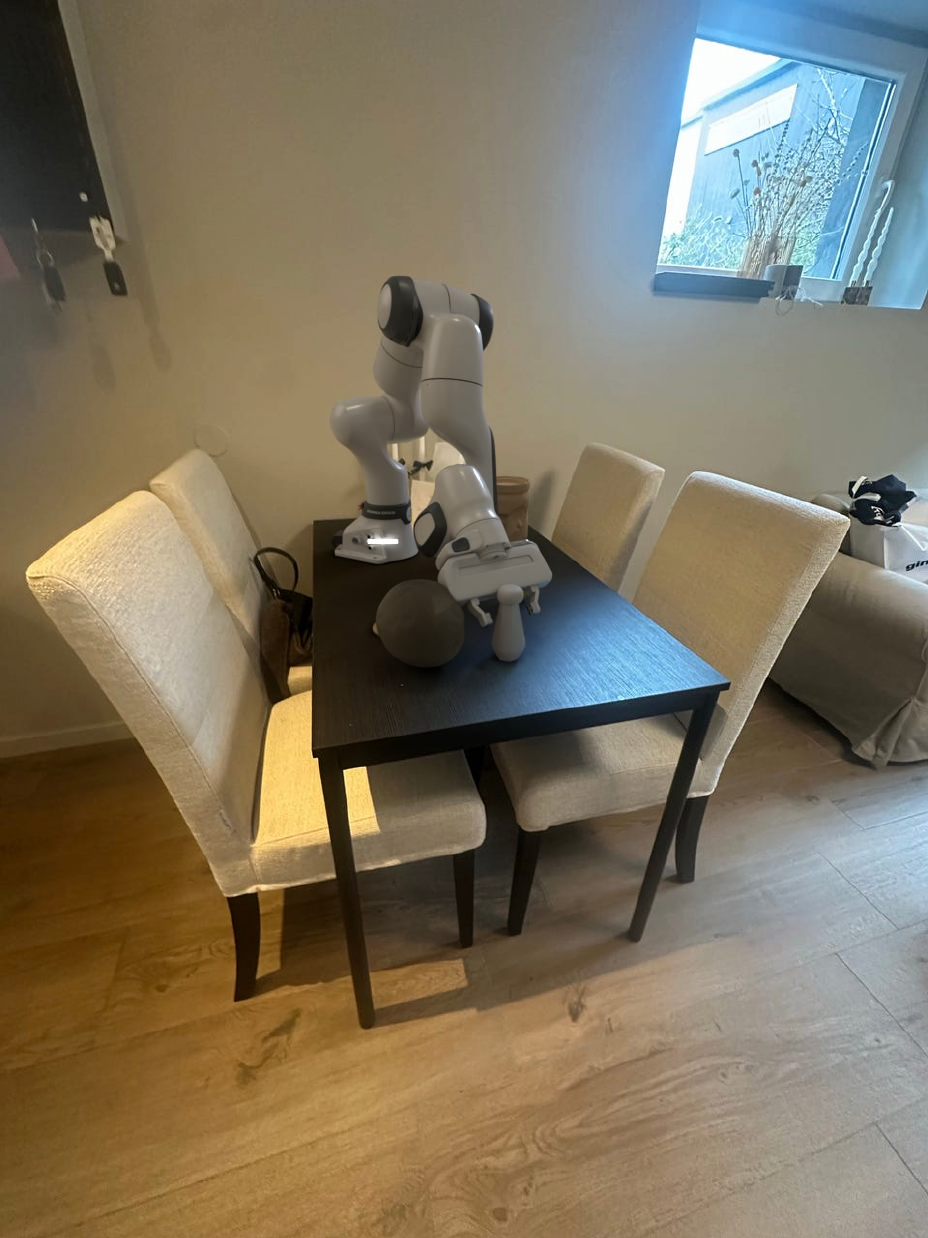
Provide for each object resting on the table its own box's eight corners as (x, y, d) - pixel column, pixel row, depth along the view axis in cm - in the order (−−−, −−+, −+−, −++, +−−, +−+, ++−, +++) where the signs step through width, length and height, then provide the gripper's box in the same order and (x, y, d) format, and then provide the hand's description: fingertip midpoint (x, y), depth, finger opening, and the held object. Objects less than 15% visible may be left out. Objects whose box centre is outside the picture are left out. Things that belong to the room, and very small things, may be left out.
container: (478, 550, 137) (478, 483, 129) (486, 536, 148) (487, 474, 140) (523, 553, 134) (527, 486, 126) (529, 539, 145) (532, 476, 137)
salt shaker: (524, 647, 89) (528, 581, 83) (524, 665, 84) (529, 595, 78) (492, 646, 90) (493, 579, 84) (490, 663, 85) (491, 593, 79)
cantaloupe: (422, 636, 93) (418, 561, 87) (482, 661, 85) (483, 580, 79) (364, 667, 84) (355, 586, 77) (425, 699, 76) (421, 611, 69)
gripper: (526, 546, 94) (553, 613, 90) (426, 564, 85) (452, 638, 82) (541, 529, 88) (571, 599, 85) (436, 546, 80) (464, 625, 76)
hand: (511, 619), depth 83 cm, fingers open, 8 cm apart
